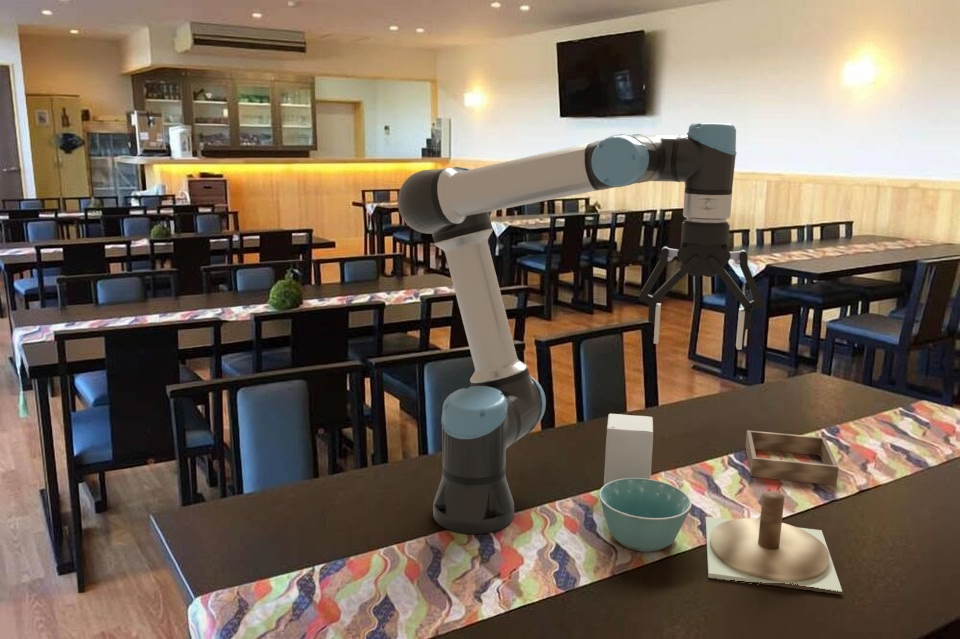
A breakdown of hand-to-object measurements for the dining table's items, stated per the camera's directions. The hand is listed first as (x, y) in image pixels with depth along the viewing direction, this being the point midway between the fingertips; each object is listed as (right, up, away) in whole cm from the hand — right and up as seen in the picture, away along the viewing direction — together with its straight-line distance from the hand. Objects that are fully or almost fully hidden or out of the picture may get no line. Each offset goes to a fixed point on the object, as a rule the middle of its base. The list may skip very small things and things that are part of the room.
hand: (696, 344), depth 136 cm
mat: (+12, -36, 0) cm, 38 cm away
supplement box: (-8, -30, +23) cm, 39 cm away
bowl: (-8, -35, +5) cm, 36 cm away
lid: (+12, -35, 0) cm, 37 cm away
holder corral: (+30, -27, +37) cm, 55 cm away
